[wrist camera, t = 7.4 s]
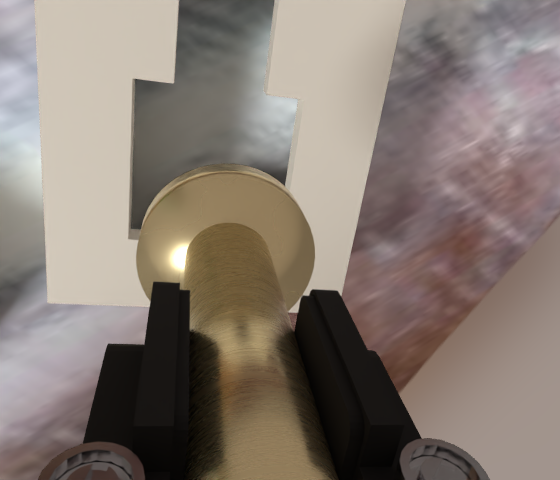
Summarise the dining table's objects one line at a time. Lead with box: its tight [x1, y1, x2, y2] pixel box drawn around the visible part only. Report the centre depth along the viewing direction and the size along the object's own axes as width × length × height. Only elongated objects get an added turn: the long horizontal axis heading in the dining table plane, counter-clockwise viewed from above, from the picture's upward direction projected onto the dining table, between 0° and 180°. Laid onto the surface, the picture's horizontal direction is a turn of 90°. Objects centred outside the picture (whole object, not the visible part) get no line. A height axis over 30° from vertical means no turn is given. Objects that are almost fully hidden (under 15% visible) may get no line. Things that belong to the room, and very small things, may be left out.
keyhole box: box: [34, 0, 406, 313], centre depth 24 cm, size 20×14×5 cm
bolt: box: [136, 164, 339, 480], centre depth 10 cm, size 5×5×13 cm
